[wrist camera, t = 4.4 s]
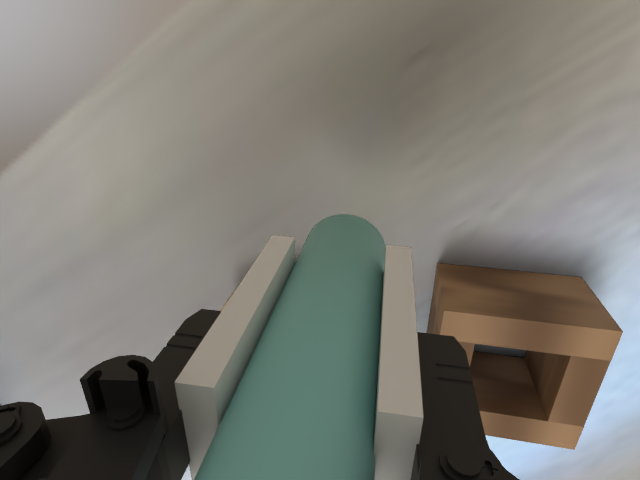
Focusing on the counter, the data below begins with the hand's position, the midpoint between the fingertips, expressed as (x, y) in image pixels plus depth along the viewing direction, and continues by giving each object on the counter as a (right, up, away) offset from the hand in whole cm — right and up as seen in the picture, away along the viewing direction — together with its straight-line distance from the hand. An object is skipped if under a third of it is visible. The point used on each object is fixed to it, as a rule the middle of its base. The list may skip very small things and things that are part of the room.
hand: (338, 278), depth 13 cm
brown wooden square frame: (+10, -4, +12) cm, 17 cm away
